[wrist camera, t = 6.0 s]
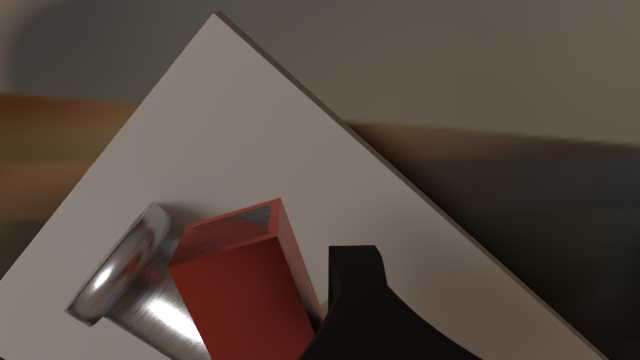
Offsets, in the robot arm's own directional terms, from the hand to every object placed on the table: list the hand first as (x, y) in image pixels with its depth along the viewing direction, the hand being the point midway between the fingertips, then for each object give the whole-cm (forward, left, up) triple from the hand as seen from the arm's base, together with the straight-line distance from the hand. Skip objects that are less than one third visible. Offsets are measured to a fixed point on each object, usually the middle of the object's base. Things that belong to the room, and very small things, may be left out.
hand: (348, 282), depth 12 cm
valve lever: (-1, +3, 0) cm, 3 cm away
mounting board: (-4, +5, -5) cm, 9 cm away
